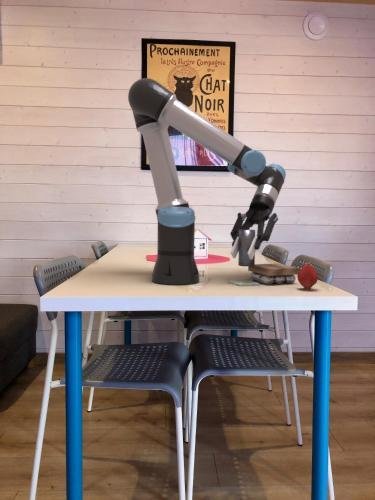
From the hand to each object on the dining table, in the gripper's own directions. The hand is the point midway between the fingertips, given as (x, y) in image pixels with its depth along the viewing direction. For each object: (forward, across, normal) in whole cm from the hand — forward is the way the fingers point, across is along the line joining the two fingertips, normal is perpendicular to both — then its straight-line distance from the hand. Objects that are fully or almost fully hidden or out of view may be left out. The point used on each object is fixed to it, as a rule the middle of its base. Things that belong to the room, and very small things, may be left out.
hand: (241, 255), depth 138 cm
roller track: (-2, -5, -15) cm, 16 cm away
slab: (-4, -5, -13) cm, 14 cm away
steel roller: (0, 0, -5) cm, 5 cm away
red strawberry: (+3, -19, -10) cm, 22 cm away
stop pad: (+4, +1, -9) cm, 10 cm away
